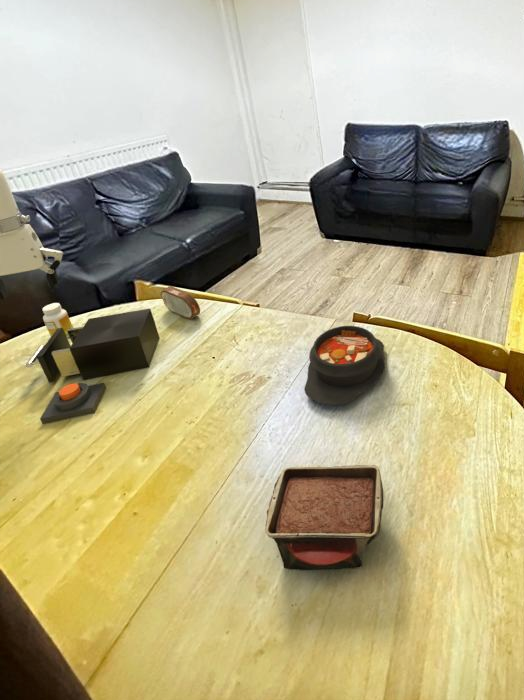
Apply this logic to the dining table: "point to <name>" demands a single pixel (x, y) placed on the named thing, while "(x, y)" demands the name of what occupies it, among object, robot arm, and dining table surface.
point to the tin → (180, 302)
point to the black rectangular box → (115, 344)
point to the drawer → (56, 355)
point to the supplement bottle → (56, 318)
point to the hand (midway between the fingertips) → (30, 291)
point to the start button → (69, 392)
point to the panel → (74, 404)
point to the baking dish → (325, 515)
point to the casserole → (343, 365)
